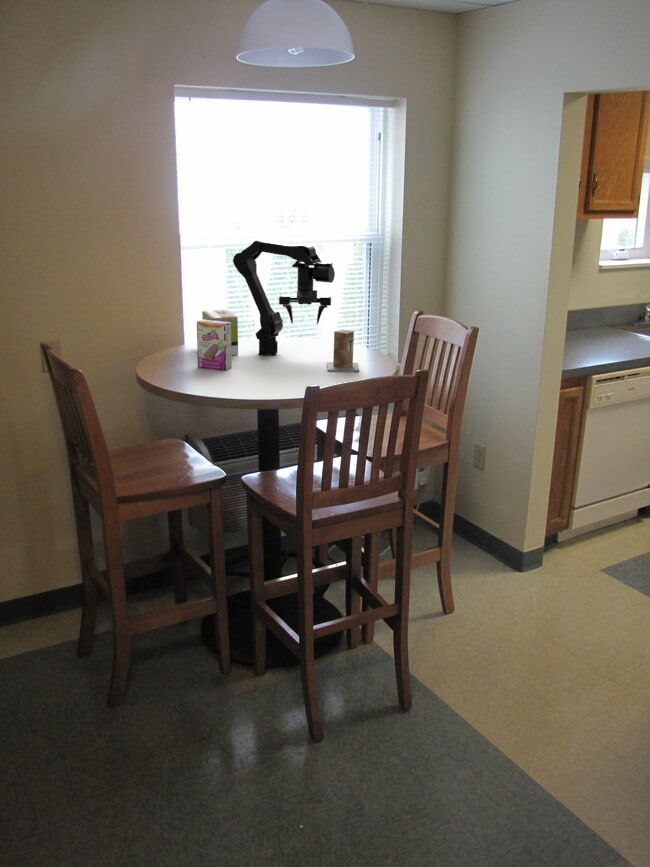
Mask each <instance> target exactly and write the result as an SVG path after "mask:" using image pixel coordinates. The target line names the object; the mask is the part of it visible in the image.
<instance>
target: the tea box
mask: <svg viewBox="0 0 650 867" xmlns="http://www.w3.org/2000/svg"><path fill="white" fill-rule="evenodd" d="M201 312H202V314H201V316H202V317H201V318H202V319H201V320H203V319H204V320H213V321H222V322H231V355H232V356H238V355H239V331H238V330H239V329H238V328H239V326H238V325H239V324H238V323H239V322H238V320H239V318H238V316H237V315H235V314H234V313H232V312H230V311H229V310H227V309H216V310H215V309H213V310H202V311H201Z"/></svg>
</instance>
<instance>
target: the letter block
mask: <svg viewBox="0 0 650 867" xmlns="http://www.w3.org/2000/svg"><path fill="white" fill-rule="evenodd" d="M354 338H355V331H353V330H347V329H339V330H335V331H334V332H333V359H332V360H333V361H332V362H333V366H334V367H339V368H344V369H346V368H348V367H351V366H353V363H354V342H355V341H354Z"/></svg>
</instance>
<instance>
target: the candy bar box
mask: <svg viewBox="0 0 650 867" xmlns="http://www.w3.org/2000/svg"><path fill="white" fill-rule="evenodd" d="M196 341H197V342H196V344H197V345H196V346H197V367H198V368H199V369H200V368H201V369H208V370H217V371H223V372H224V371H225V372H226V371H228V370H230V369H232V368H233V363H232V362H233V360H232V359H233V358H232V357H233V355H231V322H222V321H213V320H204V319H201V320H198V321H196Z"/></svg>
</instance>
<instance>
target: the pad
mask: <svg viewBox="0 0 650 867" xmlns="http://www.w3.org/2000/svg"><path fill="white" fill-rule="evenodd" d="M327 372H337V373H338V372H341V373H343V372H344V373H345V372H346V373H359V372H360V367H359V362H353V366H351V367H348V368H346V369H344V368H339V367H334V366H333V361H332V362H331V361H327Z"/></svg>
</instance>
